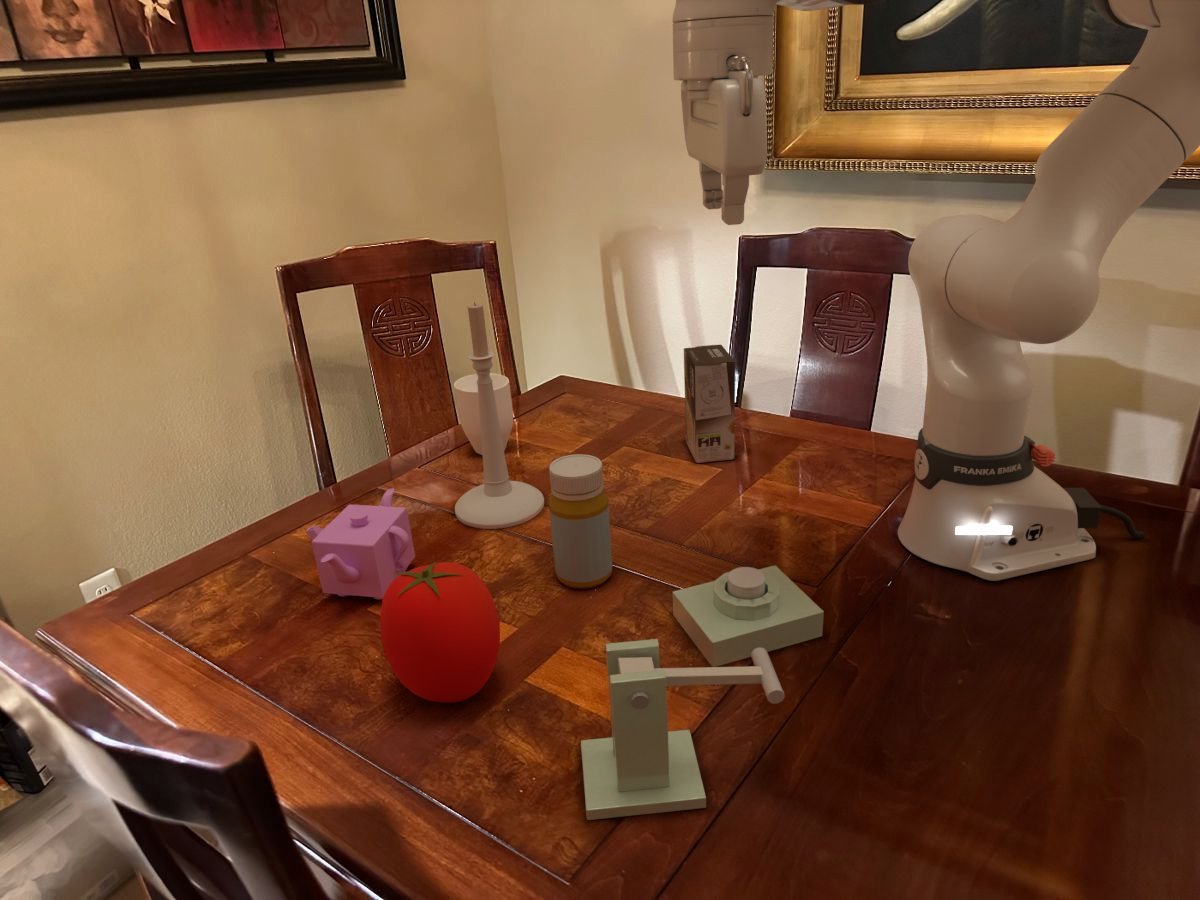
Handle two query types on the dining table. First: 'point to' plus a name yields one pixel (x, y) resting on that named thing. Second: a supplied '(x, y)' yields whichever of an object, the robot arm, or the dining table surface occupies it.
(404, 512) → the teapot
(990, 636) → the dining table surface
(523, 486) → the candlestick
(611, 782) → the lever bracket
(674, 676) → the flush lever
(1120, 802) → the dining table surface
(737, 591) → the white push button
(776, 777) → the dining table surface
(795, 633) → the push button base
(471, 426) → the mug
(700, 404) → the coffee box
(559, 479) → the bottle
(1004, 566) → the robot arm
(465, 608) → the tomato
